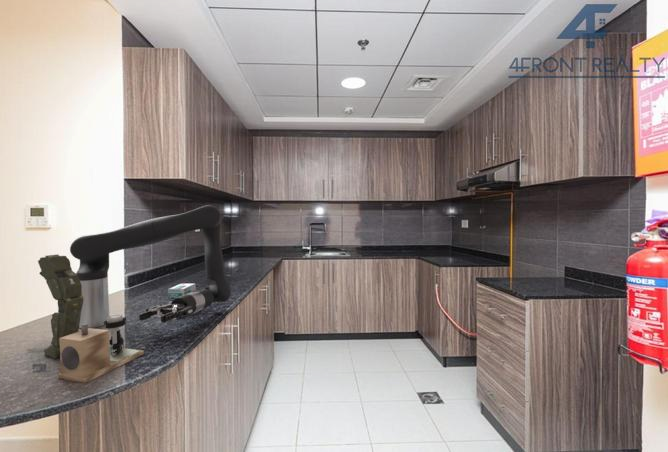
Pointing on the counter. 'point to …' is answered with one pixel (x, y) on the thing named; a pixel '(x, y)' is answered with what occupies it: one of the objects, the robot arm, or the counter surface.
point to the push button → (115, 333)
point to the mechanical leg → (62, 298)
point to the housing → (90, 355)
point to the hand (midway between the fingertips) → (150, 318)
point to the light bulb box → (180, 291)
